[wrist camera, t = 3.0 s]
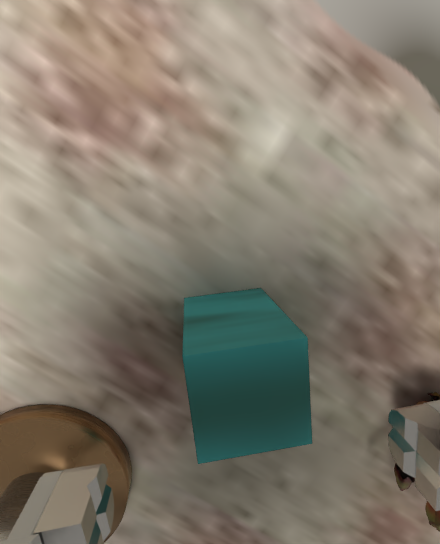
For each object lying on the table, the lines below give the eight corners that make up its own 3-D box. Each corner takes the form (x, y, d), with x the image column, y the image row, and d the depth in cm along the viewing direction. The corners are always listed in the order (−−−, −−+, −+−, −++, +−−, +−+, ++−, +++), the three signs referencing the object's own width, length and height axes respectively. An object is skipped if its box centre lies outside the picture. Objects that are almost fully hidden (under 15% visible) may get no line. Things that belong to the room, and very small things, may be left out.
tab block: (266, 357, 18) (312, 443, 12) (194, 368, 18) (198, 463, 11) (260, 287, 18) (307, 337, 11) (184, 298, 17) (182, 356, 10)
